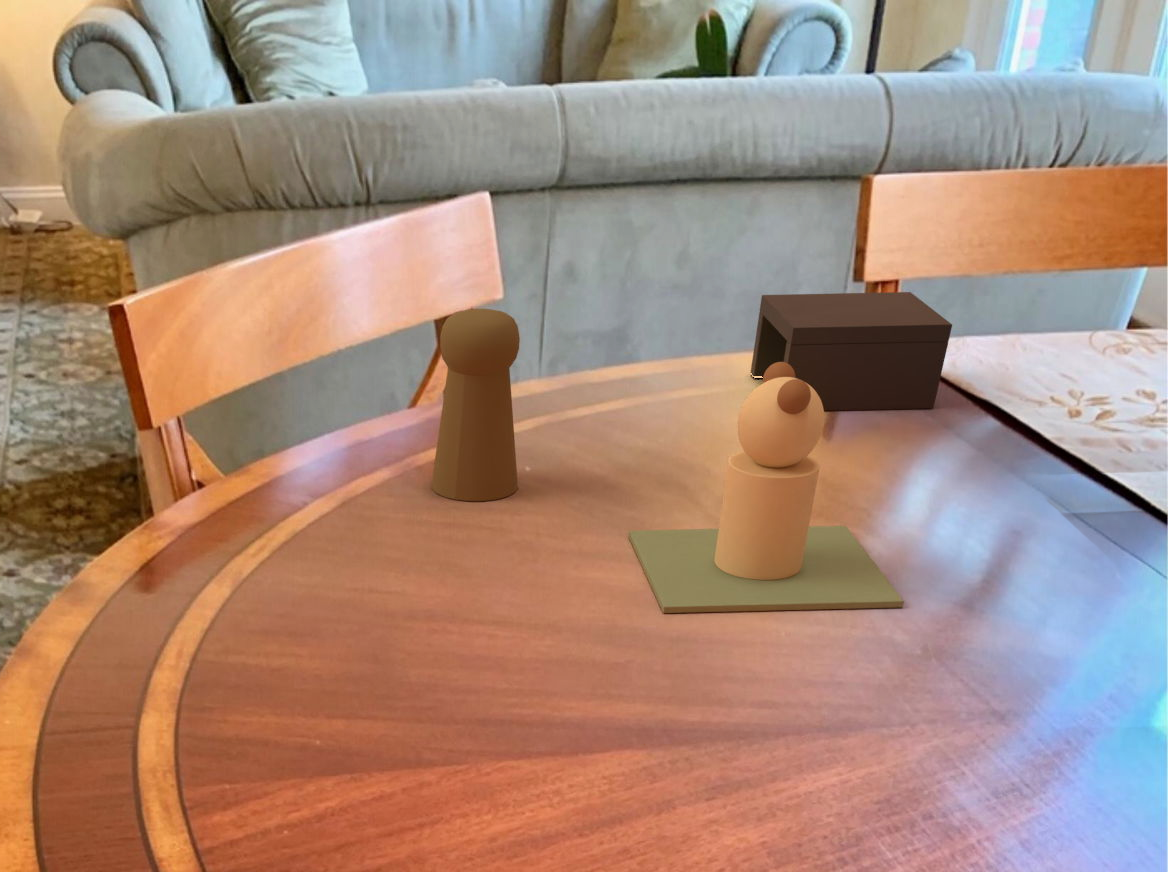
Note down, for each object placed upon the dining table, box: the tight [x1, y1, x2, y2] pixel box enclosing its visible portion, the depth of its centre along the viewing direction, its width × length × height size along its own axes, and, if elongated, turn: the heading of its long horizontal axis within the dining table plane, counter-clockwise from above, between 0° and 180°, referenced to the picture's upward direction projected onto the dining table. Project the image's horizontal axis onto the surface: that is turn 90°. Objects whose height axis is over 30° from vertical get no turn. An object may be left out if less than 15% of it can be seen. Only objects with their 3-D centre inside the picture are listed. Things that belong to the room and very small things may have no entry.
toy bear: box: [714, 362, 825, 580], centre depth 86 cm, size 5×5×11 cm
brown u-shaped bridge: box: [750, 291, 953, 412], centre depth 116 cm, size 12×10×6 cm
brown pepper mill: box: [430, 308, 521, 502], centre depth 98 cm, size 6×6×11 cm
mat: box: [628, 525, 905, 614], centre depth 90 cm, size 14×12×1 cm
